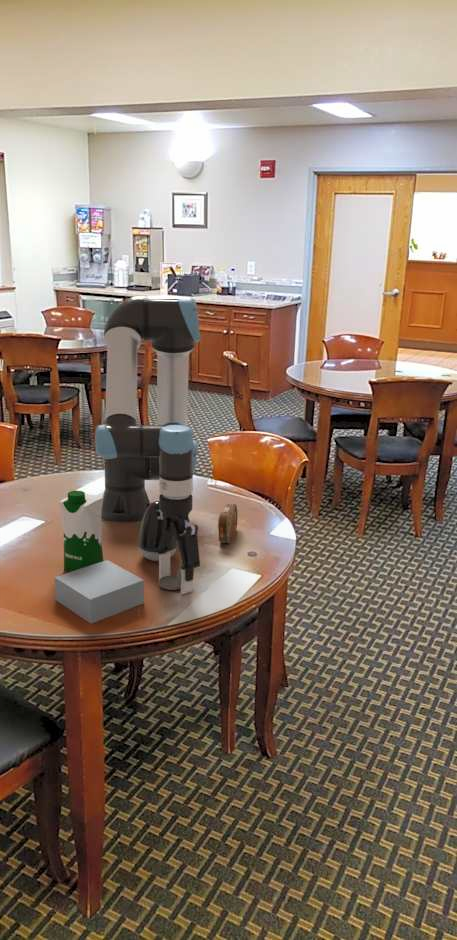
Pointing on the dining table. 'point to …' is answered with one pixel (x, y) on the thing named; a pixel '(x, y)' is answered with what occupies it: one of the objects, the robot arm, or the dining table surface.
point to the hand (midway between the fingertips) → (175, 585)
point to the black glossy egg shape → (151, 534)
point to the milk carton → (81, 530)
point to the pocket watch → (172, 580)
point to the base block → (99, 591)
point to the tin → (227, 523)
